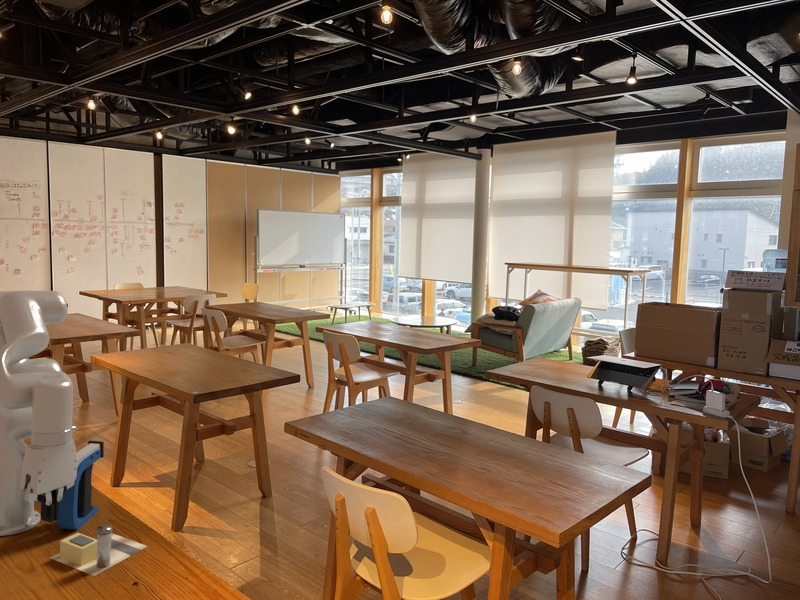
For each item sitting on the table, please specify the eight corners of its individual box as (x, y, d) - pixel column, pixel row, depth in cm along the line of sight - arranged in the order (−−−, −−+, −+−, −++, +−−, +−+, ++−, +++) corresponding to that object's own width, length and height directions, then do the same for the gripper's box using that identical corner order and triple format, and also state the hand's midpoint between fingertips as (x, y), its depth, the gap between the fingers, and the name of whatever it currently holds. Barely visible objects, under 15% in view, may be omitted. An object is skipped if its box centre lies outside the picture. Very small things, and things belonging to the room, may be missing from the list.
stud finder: (59, 557, 135) (60, 539, 135) (77, 548, 140) (77, 531, 139) (81, 566, 133) (82, 547, 132) (98, 557, 137) (99, 539, 137)
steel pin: (92, 566, 133) (93, 528, 132) (104, 559, 136) (105, 523, 135) (102, 570, 132) (103, 532, 131) (114, 563, 135) (115, 526, 134)
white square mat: (50, 562, 135) (50, 557, 135) (105, 534, 149) (105, 530, 149) (94, 580, 130) (94, 575, 130) (147, 550, 143) (147, 546, 143)
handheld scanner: (103, 510, 161) (105, 440, 159) (73, 539, 145) (74, 462, 143) (86, 509, 161) (88, 439, 159) (54, 538, 145) (55, 461, 143)
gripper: (71, 425, 134) (68, 503, 136) (5, 442, 120) (3, 529, 122) (94, 431, 131) (92, 511, 133) (30, 449, 117) (27, 538, 119)
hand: (49, 519), depth 127 cm, fingers closed
